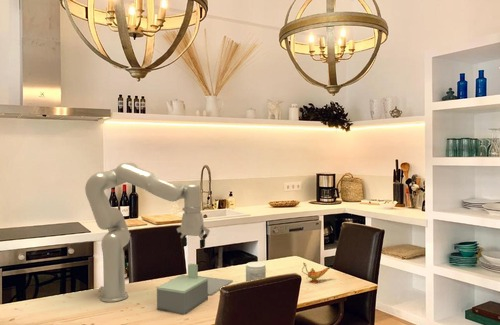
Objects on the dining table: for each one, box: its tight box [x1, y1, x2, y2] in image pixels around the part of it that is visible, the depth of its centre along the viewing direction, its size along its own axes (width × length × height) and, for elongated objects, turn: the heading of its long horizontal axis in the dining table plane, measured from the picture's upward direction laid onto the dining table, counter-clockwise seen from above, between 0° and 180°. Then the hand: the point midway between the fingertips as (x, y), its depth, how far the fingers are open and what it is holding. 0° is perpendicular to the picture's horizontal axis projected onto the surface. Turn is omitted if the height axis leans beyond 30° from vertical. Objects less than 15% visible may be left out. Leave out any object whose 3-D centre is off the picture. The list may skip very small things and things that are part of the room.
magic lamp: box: [301, 262, 332, 284], centre depth 221 cm, size 7×18×11 cm, turn 112°
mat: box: [198, 275, 234, 296], centre depth 215 cm, size 22×24×1 cm
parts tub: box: [156, 280, 209, 316], centre depth 188 cm, size 14×20×9 cm
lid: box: [156, 263, 208, 293], centre depth 188 cm, size 14×20×8 cm
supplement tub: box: [245, 261, 267, 282], centre depth 201 cm, size 10×10×15 cm
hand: (193, 247), depth 196 cm, fingers open, 9 cm apart
